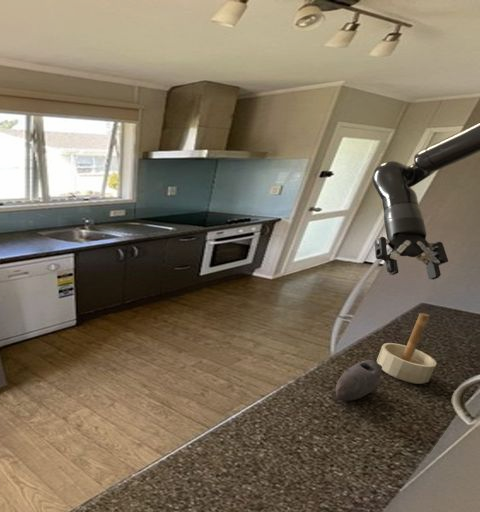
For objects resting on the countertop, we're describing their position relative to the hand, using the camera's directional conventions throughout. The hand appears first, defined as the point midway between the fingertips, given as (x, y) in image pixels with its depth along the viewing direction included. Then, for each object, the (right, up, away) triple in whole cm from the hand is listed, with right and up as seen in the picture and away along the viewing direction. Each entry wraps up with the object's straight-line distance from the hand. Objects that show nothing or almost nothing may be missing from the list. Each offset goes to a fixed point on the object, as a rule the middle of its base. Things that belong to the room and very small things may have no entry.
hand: (413, 276), depth 75 cm
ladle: (-5, -24, 0) cm, 25 cm away
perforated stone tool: (-23, -27, -8) cm, 37 cm away
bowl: (-4, -25, 0) cm, 25 cm away
